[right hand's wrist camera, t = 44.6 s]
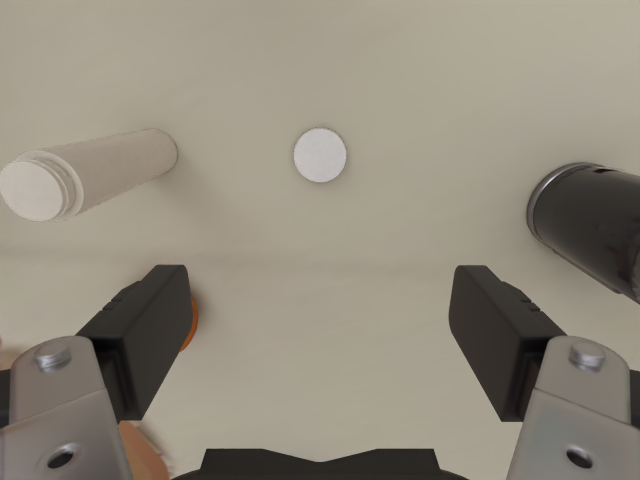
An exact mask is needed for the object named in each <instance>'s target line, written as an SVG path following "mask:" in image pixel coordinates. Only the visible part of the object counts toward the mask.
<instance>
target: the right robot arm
mask: <svg viewBox="0 0 640 480" xmlns="http://www.w3.org/2000/svg"><path fill="white" fill-rule="evenodd" d="M613 169H615V170H613ZM617 170H622V169H618V168H607V167H604V166H601V165H597V164H593V163H587V162H580V163H573V164H569V165H566V166H563V167H561V168H559V169H557V170H555V171H554V172H552V173H551V174H549V175H548V176H547V177H546V178H545V179H544V180H543V181H542V182H541V183H540V184H539V185H538V186H537V188H536V189H535V191H534V193H533V194H532V196H531V199H530V201H529V205H528V210H527V220H528V225H529V228H530V230H531V232H532V234H533V235H534V236H535V237H536V238H537V239H538V240H539V241H540V242H542V243H544V244H545V245H547V246H548V247H550V248H553V250H554V252H555V253H556V254H557V255H559V256H560V257H562V258H563V259H565V260H566V261H568V262H569V263H571V264H572V265H574V266H575V267H577V268H578V269H580V270H581V271H583V272H584V273H586V274H587V275H589V276H591V277H592V278H594V279H595V280H597V281H598V282H600V283H601V284H603V285H604V286H606V287H607V288H609V289H610V290H612V291H613V292H615V293H618V294H624V295H626V296H627V297H629V298H630V299H632V300H633V301H635V302H636V303H638V304H640V176H637V175H633V174H629V173H625V172H621V171H617ZM102 309H103V310H102V311H99V312H98V313H97V314H96V315H95V316H94V317H93V318H92V319H91V320H90V321H89V322H88V323H87V324H86V325H85V326H84V327H83V328H82V329H81V330H80V331H79V332H78V333H77V334H76V335H75V336H64V337H59V338H55V339H51V340H48V341H45V342H43V343H41V344H38V345H36V346H34V347H32V348H30V349H29V350H27V351H26V352H24V353H23V354H21V355H20V356H19V357H18V358H17V359H16V360H15V361H14V363H13V364H12V366H11V369H8V370H3V371H0V480H134V478H133V474H132V471H131V468H130V464H129V461H128V458H127V454H126V451H125V448H124V444H123V441H122V438H121V435H120V431H119V428H118V424H119V423H120V421H121V420H142V418H143V417H144V415H145V413H146V411H147V409H148V407H149V406H150V404H151V402H152V400H153V398H154V397H155V395H156V393H157V391H158V389H159V388H160V386H161V384H162V382H163V380H164V379H165V377H166V375H167V373H168V371H169V369H170V368H171V366H172V364H173V362H174V360H175V359H176V357H177V355H178V353H179V351H180V350H181V348H182V346H183V344H184V342H185V341H186V339H187V337H188V335H189V333H190V331H191V328H192V324H193V307H192V300H191V293H190V286H189V279H188V273H187V269H186V267H185V266H184V265H156V266H155V267H154V268H153V269H152V270H151V271H150V272H149V273H148V274H147V275H146V276H145V277H144V278H143V279H142V280H141V281H137V282H135V283H133V284H131V285H130V286H128V287H126V288H124V289H122V290H121V291H120V292H119V293H118V294H117V295H116V296H115V297H114V298H113V299H112V300H111V302H109V303H108V304H107V305H105V306H104V307H103V308H102ZM449 325H450V329H451V332H452V334H453V336H454V338H455V339H456V341H457V343H458V345H459V347H460V348H461V350H462V352H463V354H464V355H465V357H466V359H467V361H468V363H469V364H470V366H471V368H472V370H473V372H474V373H475V375H476V377H477V379H478V380H479V382H480V384H481V386H482V388H483V389H484V391H485V393H486V395H487V397H488V398H489V400H490V402H491V404H492V405H493V407H494V409H495V411H496V413H497V414H498V416H499V418H500V420H501V422H523V425H522V428H521V431H520V435H519V438H518V441H517V444H516V448H515V451H514V454H513V458H512V461H511V464H510V468H509V471H508V474H507V478H506V480H640V371H635V370H630V369H629V366H628V364H627V363H626V361H625V360H624V359H623V358H622V357H621V356H620V355H619V354H617V353H616V352H614V351H613V350H611V349H610V348H608V347H606V346H604V345H602V344H599V343H597V342H595V341H592V340H589V339H585V338H581V337H576V336H568V335H567V334H566V333H565V332H563V331H562V330H561V329H560V328H559V327H558V326H557V325H556V324H555V323H554V322H553V321H552V320H551V319H550V318H549V317H548V316H547V315H546V314H545V313H544V312H543V311H540V308H539V307H537V306H536V305H535V304H534V303H531V300H530V299H529V298H528V297H527V296H526V295H525V294H524V293H523V292H522V291H521V290H519V289H517V288H515V287H514V286H512V285H510V284H508V283H506V282H502V281H501V280H500V279H499V278H498V277H497V276H496V275H495V274H494V273H493V272H492V271H491V270H490V269H489V268H488V267H487V266H485V265H459V266H457V268H456V270H455V273H454V280H453V287H452V294H451V301H450V307H449ZM171 480H469V479H467V478H465V477H462V476H460V475H457V474H454V473H451V472H449V471H445V470H442V469H440V468H439V464H438V461H437V458H436V455H435V452H434V449H375V450H371V451H367V452H363V453H358V454H354V455H350V456H346V457H342V458H338V459H334V460H330V461H326V462H314V461H310V460H306V459H302V458H298V457H294V456H290V455H286V454H282V453H277V452H273V451H269V450H265V449H206V452H205V455H204V458H203V461H202V464H201V468H200V469H198V470H195V471H191V472H189V473H186V474H183V475H180V476H178V477H175V478H173V479H171Z"/></svg>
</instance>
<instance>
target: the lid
mask: <svg viewBox="0 0 640 480" xmlns="http://www.w3.org/2000/svg"><path fill="white" fill-rule="evenodd" d="M298 139H299V140H298V142H297V143H296V144H295V149H294V151H293V152H294V157H293V159H294V162H295V165H296V167H297V169H298V171H299V172H300V173H301V174H302V176H304V177H305V178H307V179H308V180H311V181H314V182H326V181H329V180H332V179H334V178H335V177H336V176H338V175H339V174H340V172H341V171H342V170H343V168H344V166H345V164H346V157H347V155H346V148H345V145H344V141H342V140H341V137H340V136H338V135H337V134H336V132H335V131H334V132H333V131H332V130H330V129H329V128H328V129H326V128H323V127H322V128H316V127H315V128H314V129H311V130H310V129H309V131H307V132H305V133H303V135H302V136H301V137H299V138H298Z"/></svg>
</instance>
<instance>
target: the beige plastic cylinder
mask: <svg viewBox="0 0 640 480" xmlns="http://www.w3.org/2000/svg"><path fill="white" fill-rule="evenodd" d="M176 161H177V148H176V146H175V143H174V142H173V140H172V139H171V138H170V137H169V136H168V135H167V134H166V133H164V132H163V131H160V130H157V129H146V130H141V131H135V132H130V133H124V134H119V135H114V136H108V137H103V138H97V139H92V140H87V141H81V142H76V143H70V144H65V145H60V146H54V147H49V148H43V149H38V150H32V151H28V152H25V153H23V154H21V155H19V156H18V157H17V158H16V159H15V160H14V161H12V162H10V163H9V164H7V165H6V166H5V167H4V168H3V169H2V171H1V173H0V193H1V196H2V198H3V200H4V202H5V203H6V204H7V206H8V207H9V208H10V209H11V210H12V211H13V212H15V213H16V214H17V215H19V216H21V217H23V218H25V219H27V220H31V221H37V222H42V221H51V222H61V221H65V220H68V219H71V218H73V217H75V216H77V215H79V214H81V213H83V212H85V211H87V210H89V209H91V208H93V207H95V206H97V205H99V204H101V203H103V202H106V201H108V200H110V199H112V198H114V197H116V196H118V195H120V194H122V193H124V192H126V191H128V190H130V189H132V188H134V187H136V186H138V185H141V184H143V183H145V182H147V181H149V180H151V179H153V178H155V177H157V176H159V175H161V174H163V173H165V172H167V171H169V170H170V169H172V168H173V166H174V165H175V163H176Z"/></svg>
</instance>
